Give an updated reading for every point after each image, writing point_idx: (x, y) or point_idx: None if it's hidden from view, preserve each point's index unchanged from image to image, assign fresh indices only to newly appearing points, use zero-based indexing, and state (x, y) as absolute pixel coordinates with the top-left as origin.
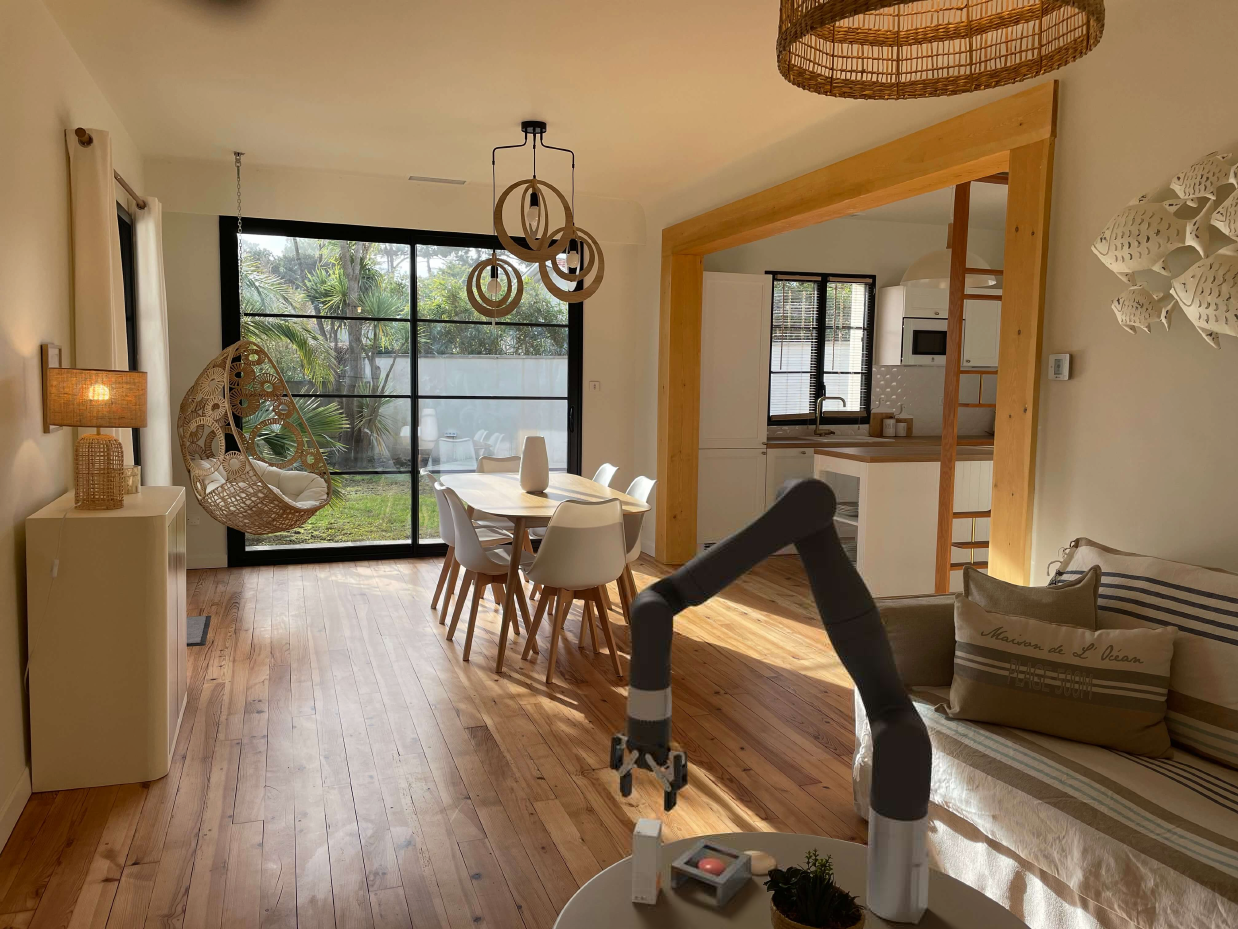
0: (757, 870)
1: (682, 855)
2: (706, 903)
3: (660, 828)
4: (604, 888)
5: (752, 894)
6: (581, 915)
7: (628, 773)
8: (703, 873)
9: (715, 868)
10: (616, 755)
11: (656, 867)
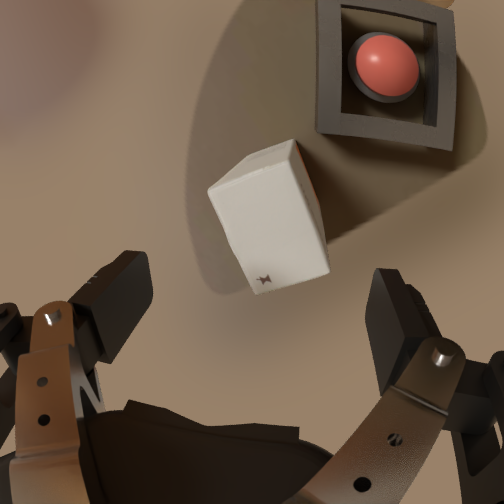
0: (439, 5)
1: (319, 77)
2: (403, 146)
3: (304, 195)
4: (203, 207)
5: (460, 78)
6: (223, 291)
7: (88, 337)
8: (402, 129)
9: (402, 73)
10: (10, 427)
11: (323, 227)
